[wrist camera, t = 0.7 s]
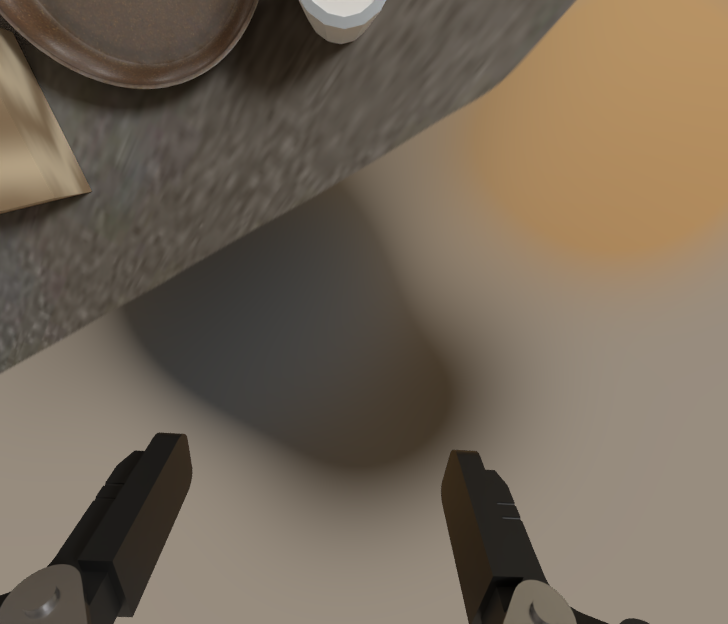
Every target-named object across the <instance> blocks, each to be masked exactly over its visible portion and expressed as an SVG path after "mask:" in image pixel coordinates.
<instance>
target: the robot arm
mask: <svg viewBox="0 0 728 624" xmlns="http://www.w3.org/2000/svg"><path fill="white" fill-rule="evenodd" d="M191 479H192V464H191V458H190V451H189V445H188V440H187V436H186V435H185V434H175V433H157V434H156V435H155V436H154V437H153V439H152V440H151V442H150V444H149V445H148V447H147V449H146V450H145V451H134V452H132V453H131V454H130V455H129V456H128V457H127V458H125V459H124V460H123V461H122V462H120V463H119V464H118V465H117V466H116V468H115V469H114V471H113V472H112V474H111V475H110V477H109V478H108V480H107V481H106V484H105V486H103V487H102V488H101V490H100V491H99V493H98V494H97V496H96V499H95V501H93V502H92V503H91V505H90V506H89V508H88V509H87V511H86V512H85V514H84V515H83V517H82V518H81V520H80V521H79V523H78V524H77V526H76V527H75V528H74V530H73V531H72V533H71V534H70V536H69V537H68V539H67V540H66V542H65V543H64V545H63V546H62V548H61V549H60V551H59V552H58V554H57V555H56V557H55V558H54V559H53V560H52V562H51V563H50V564H49V565H48V566H47V567H46V568H43V569H41V570H39V571H37V572H35V573H34V574H32V575H30V576H29V577H27V578H26V579H24V580H23V581H22V582H21V583H20V584H18V585H17V586H16V587H15V588H14V589H13V590H12V591H11V592H9V593H6V594H3V595H0V624H113V623H114V621H115V619H116V617H133V615H134V613H135V611H136V608H137V606H138V604H139V601H140V599H141V597H142V595H143V592H144V590H145V588H146V586H147V583H148V581H149V579H150V577H151V574H152V572H153V570H154V568H155V565H156V563H157V561H158V558H159V556H160V554H161V552H162V549H163V547H164V545H165V543H166V540H167V538H168V536H169V533H170V531H171V529H172V527H173V524H174V522H175V520H176V518H177V515H178V513H179V511H180V509H181V506H182V504H183V502H184V499H185V497H186V495H187V493H188V490H189V487H190V484H191ZM441 497H442V505H443V509H444V514H445V518H446V523H447V527H448V532H449V536H450V540H451V545H452V550H453V554H454V559H455V563H456V567H457V572H458V577H459V581H460V586H461V590H462V594H463V599H464V604H465V608H466V613H467V617H468V621H469V624H608V623H606V622H603V621H600V620H598V619H595V618H593V617H590V616H588V615H585V614H583V613H581V612H578V611H576V610H575V609H573V608H572V607H570V606H569V605H568V603H567V602H566V600H565V599H564V598H563V597H562V596H561V595H560V594H559V593H558V592H557V591H556V590H555V589H553V588H552V587H551V586H550V585H549V584H548V582H547V580H546V578H545V576H544V574H543V571H542V569H541V566H540V564H539V562H538V559H537V557H536V554H535V552H534V550H533V547H532V545H531V542H530V540H529V537H528V535H527V532H526V530H525V527H524V525H523V522H522V521H521V520H520V515H519V513H518V510H517V508H516V506H515V505H514V500H513V498H512V496H511V493H510V491H509V488H508V486H507V484H506V483H505V482H504V481H503V480H502V478H501V477H500V476H499V475H498V474H497V472H496V471H495V470H485V468H484V466H483V463H482V460H481V457H480V455H479V453H478V452H477V451H465V450H452V451H451V453H450V456H449V460H448V463H447V467H446V470H445V474H444V477H443V481H442V486H441ZM620 624H649V623H647V622H645V621H642V620H639V619H634V618H633V619H626V620H624V621H622V622H621V623H620Z"/></svg>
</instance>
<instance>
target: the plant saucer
mask: <svg viewBox="0 0 728 624" xmlns="http://www.w3.org/2000/svg"><path fill="white" fill-rule="evenodd" d="M258 1H259V0H0V14H1V15H2V17H3V18H4V19H5V20H6V21H7V22H8V23H9V24H10V25H11V26H12V27H13V28H14V29H15V30H16V31H17V32H18V33H20V34H21V35H22V36H23V37H24V38H25V39H27V40H28V41H29V42H30V43H31V44H32V45H34V46H35V47H36V48H38V49H39V50H40V51H42V52H43V53H45V54H46V55H47V56H49V57H50V58H52V59H53V60H55V61H57V62H58V63H60V64H62V65H63V66H65V67H67V68H69V69H71V70H73V71H75V72H77V73H79V74H81V75H84V76H86V77H88V78H91V79H94V80H97V81H100V82H103V83H106V84H110V85H114V86H119V87H125V88H132V89H157V88H165V87H170V86H174V85H178V84H181V83H184V82H187V81H189V80H191V79H194V78H196V77H198V76H200V75H201V74H203V73H205V72H206V71H208V70H209V69H211V68H212V67H214V66H215V65H216V64H218V63H219V62H220V61H221V60H222V59H223V58H224V57H225V56H226V55H227V54H228V53H229V52H230V51H231V50H232V49H233V47H234V46H235V45H236V44H237V42H238V41H239V39H240V38H241V37H242V35H243V33H244V32H245V30H246V28H247V26H248V24H249V23H250V21H251V18H252V16H253V14H254V12H255V9H256V6H257V4H258Z"/></svg>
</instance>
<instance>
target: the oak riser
mask: <svg viewBox="0 0 728 624" xmlns="http://www.w3.org/2000/svg"><path fill="white" fill-rule="evenodd" d="M88 192H92V191H91V189H90V187H89V185H88V183H87V181H86V179H85V177H84V175H83V173H82V171H81V169H80V167H79V165H78V163H77V161H76V158H75V156H74V154H73V152H72V150H71V148H70V146H69V144H68V142H67V140H66V138H65V136H64V134H63V132H62V130H61V128H60V126H59V124H58V122H57V120H56V118H55V116H54V114H53V112H52V110H51V108H50V106H49V104H48V102H47V100H46V98H45V96H44V94H43V92H42V90H41V88H40V86H39V84H38V82H37V80H36V78H35V76H34V74H33V72H32V70H31V68H30V66H29V64H28V62H27V60H26V58H25V56H24V54H23V52H22V50H21V48H20V46H19V44H18V42H17V40H16V38H15V36H14V34H13V32H10V31H8V30H5V29H2V28H0V214H3V213H7V212H11V211H15V210H19V209H23V208H27V207H31V206H35V205H39V204H43V203H48V202H52V201H56V200H60V199H64V198H68V197H72V196H76V195H80V194H84V193H88Z"/></svg>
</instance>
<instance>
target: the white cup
mask: <svg viewBox="0 0 728 624" xmlns="http://www.w3.org/2000/svg"><path fill="white" fill-rule="evenodd" d="M385 1H386V0H299V2H300V4H301V6H302V8H303V11H304V13H305V15H306V17H307V19H308V20H309V22H310V24H311V25H312V27H313V29H314V30H315V32H316V33H317V34H319V35H320V36H321V37H323V38H324V39H325V40H327V41H328V42H333V43H337V44H344V43H348V42H352V41H355V40H356V39H357V38H358V37H359V36H361V35H362V34H363V33H364V32H365V31H366V30H367V28H368V27H369V26H370V24H371V23H372V21H373V20H374V19H375V17H376V16H377V15H378V13H379V12H380V11H381V9H382V7H383V5H384V3H385Z"/></svg>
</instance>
